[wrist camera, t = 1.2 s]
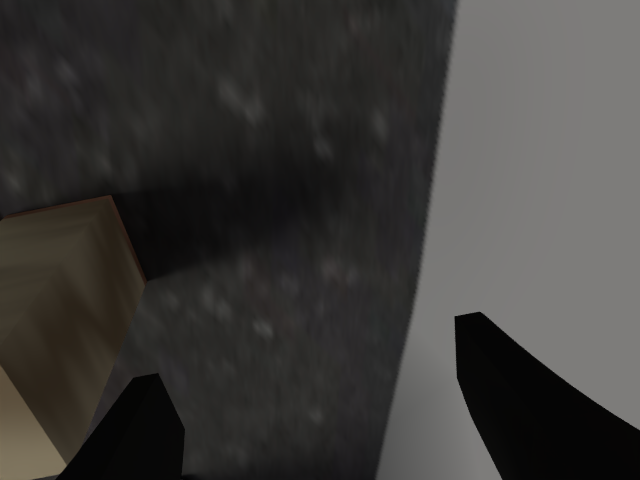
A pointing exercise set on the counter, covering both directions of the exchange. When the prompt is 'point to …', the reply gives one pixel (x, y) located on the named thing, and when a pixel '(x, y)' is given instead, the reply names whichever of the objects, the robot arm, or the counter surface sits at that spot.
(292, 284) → the counter surface
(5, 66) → the counter surface
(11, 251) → the maple block
